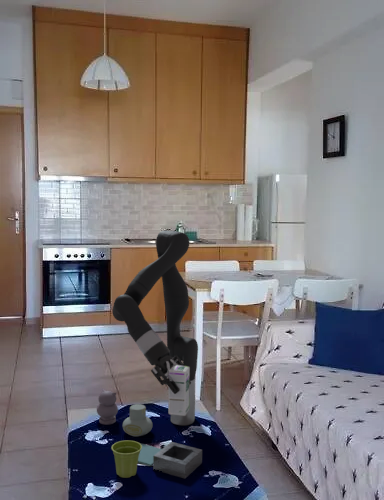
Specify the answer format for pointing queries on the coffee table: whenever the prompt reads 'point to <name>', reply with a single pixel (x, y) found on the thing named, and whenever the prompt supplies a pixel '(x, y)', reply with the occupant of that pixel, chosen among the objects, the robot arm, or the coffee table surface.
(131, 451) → the plant pot
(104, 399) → the cat figurine
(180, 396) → the syrup box
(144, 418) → the air freshener
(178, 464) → the collar
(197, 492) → the coffee table surface
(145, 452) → the mat
